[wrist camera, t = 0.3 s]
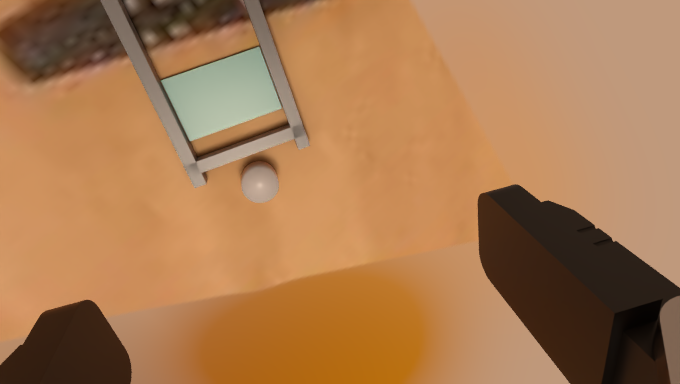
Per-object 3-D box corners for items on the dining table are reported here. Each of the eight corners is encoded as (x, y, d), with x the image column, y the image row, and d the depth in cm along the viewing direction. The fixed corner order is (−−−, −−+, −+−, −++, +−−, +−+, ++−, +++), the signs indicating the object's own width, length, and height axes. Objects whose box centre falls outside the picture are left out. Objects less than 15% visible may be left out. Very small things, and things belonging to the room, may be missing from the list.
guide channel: (23, -164, 26) (7, -178, 24) (183, -210, 26) (179, -227, 25) (210, 213, 37) (209, 223, 35) (318, 172, 38) (323, 180, 36)
